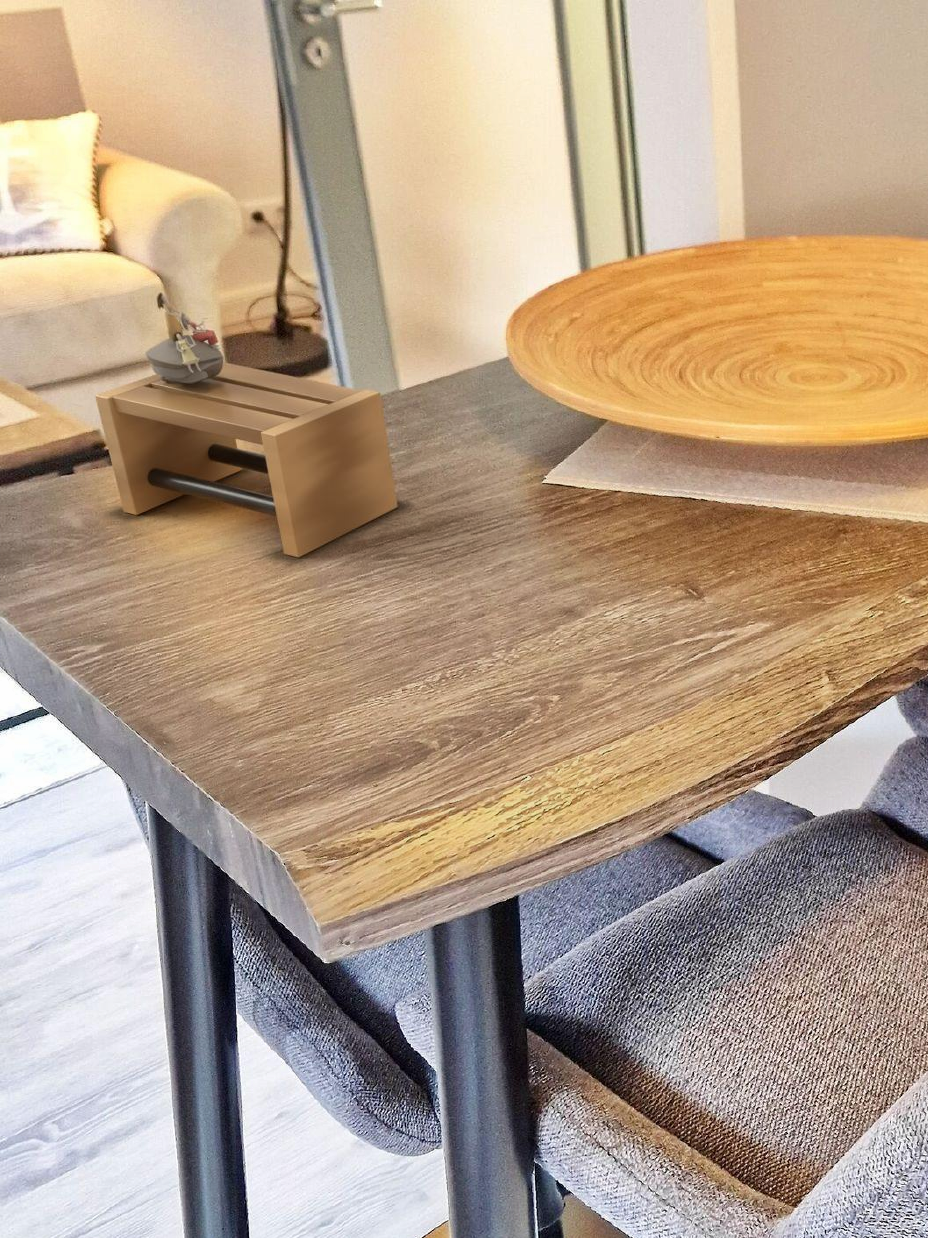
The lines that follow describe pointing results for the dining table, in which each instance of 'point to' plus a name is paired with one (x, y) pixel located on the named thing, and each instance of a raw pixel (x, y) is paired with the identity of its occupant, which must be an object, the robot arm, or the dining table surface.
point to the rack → (263, 414)
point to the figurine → (185, 350)
